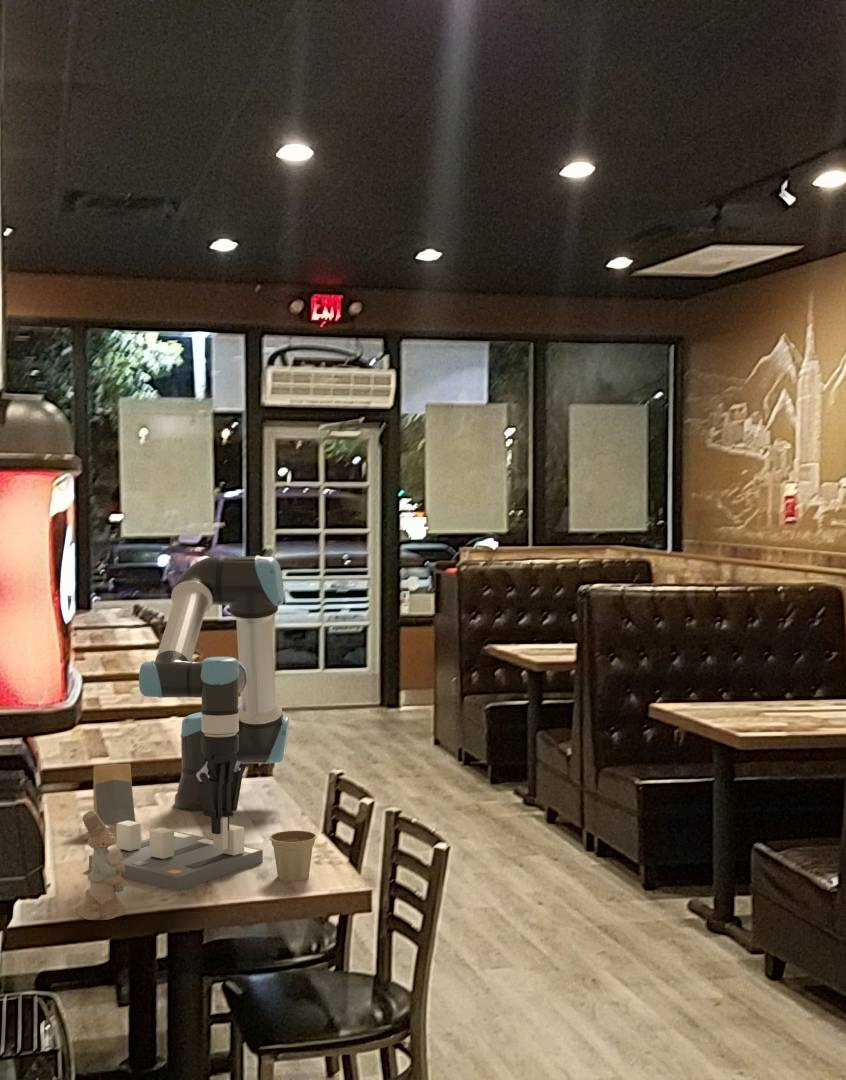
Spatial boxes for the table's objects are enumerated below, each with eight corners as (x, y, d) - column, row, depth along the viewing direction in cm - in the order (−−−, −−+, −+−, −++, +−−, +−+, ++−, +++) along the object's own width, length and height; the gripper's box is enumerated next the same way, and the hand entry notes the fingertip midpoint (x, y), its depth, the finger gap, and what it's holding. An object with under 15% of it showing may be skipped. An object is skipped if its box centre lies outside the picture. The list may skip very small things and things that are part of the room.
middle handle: (160, 852, 260) (160, 827, 260) (174, 855, 258) (174, 830, 258) (149, 855, 258) (149, 830, 258) (163, 858, 256) (163, 833, 255)
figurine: (78, 925, 225) (77, 814, 225) (77, 911, 233) (76, 803, 233) (129, 920, 228) (128, 810, 227) (126, 906, 236) (125, 800, 235)
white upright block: (230, 849, 263) (230, 824, 263) (244, 852, 260) (244, 827, 260) (220, 852, 260) (219, 827, 260) (234, 855, 258) (234, 830, 258)
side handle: (127, 844, 266) (127, 820, 266) (140, 847, 264) (140, 823, 264) (116, 848, 264) (116, 823, 264) (129, 851, 261) (129, 826, 261)
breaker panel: (175, 844, 279) (175, 830, 279) (262, 863, 264) (262, 848, 263) (88, 870, 259) (88, 854, 259) (177, 892, 244) (177, 876, 244)
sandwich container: (98, 846, 278) (98, 779, 277) (93, 829, 292) (92, 765, 292) (138, 843, 280) (138, 776, 280) (131, 826, 295) (130, 762, 294)
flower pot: (270, 872, 258) (270, 830, 257) (317, 871, 258) (317, 829, 258) (268, 886, 248) (268, 842, 248) (316, 885, 249) (316, 841, 249)
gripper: (229, 727, 264) (229, 838, 265) (183, 736, 254) (184, 852, 255) (255, 730, 260) (255, 844, 261) (210, 740, 250) (210, 858, 250)
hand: (220, 848), depth 258 cm, fingers closed
